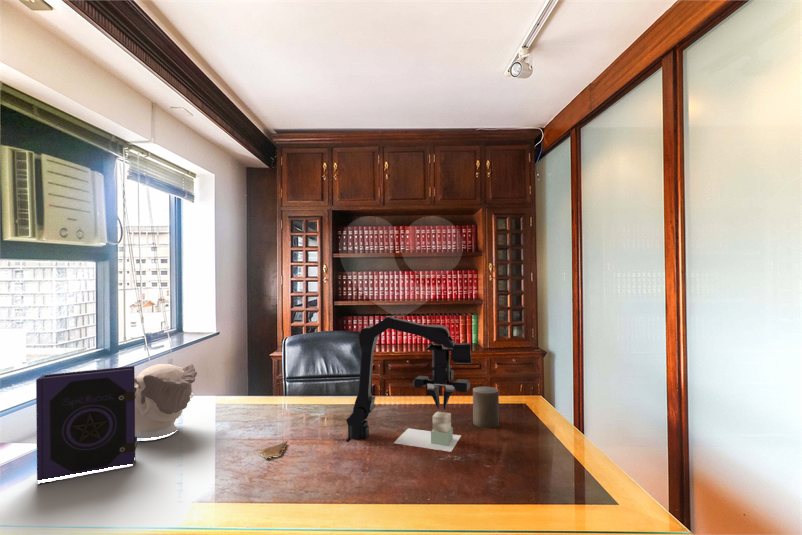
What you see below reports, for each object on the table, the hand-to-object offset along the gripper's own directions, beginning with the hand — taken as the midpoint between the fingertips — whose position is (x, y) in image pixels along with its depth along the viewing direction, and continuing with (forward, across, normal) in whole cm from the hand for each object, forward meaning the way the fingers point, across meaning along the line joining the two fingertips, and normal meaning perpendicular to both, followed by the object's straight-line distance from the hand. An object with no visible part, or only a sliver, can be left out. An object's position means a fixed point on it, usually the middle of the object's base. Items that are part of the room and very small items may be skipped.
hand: (441, 408), depth 143 cm
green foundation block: (+11, 0, 0) cm, 11 cm away
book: (+12, +94, +55) cm, 110 cm away
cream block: (+7, 0, 0) cm, 7 cm away
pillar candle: (+12, -11, -22) cm, 27 cm away
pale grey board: (+12, +5, 0) cm, 13 cm away
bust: (+12, +99, +27) cm, 103 cm away
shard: (+13, +51, +25) cm, 58 cm away
